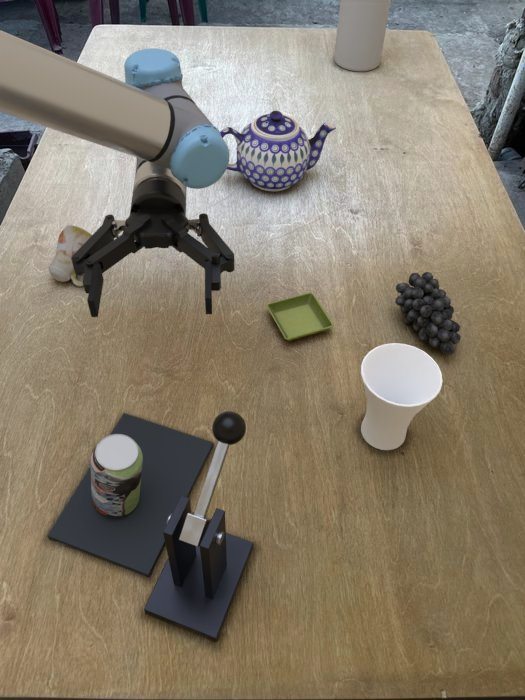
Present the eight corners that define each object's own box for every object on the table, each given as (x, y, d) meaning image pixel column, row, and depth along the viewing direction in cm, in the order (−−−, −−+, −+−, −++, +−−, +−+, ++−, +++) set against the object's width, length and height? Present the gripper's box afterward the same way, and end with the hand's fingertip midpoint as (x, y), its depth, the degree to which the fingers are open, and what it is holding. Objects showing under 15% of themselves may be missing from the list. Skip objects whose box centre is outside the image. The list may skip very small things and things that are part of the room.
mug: (39, 284, 108) (34, 226, 105) (80, 275, 116) (77, 221, 113) (70, 290, 105) (66, 230, 102) (110, 280, 113) (108, 225, 110)
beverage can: (90, 486, 82) (72, 436, 73) (146, 471, 84) (135, 421, 75) (97, 529, 78) (79, 482, 69) (155, 513, 80) (145, 465, 71)
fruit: (476, 323, 92) (432, 256, 102) (424, 344, 93) (384, 276, 102) (476, 354, 99) (435, 289, 108) (427, 374, 100) (390, 307, 109)
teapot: (216, 202, 125) (214, 135, 114) (210, 161, 135) (207, 95, 123) (338, 195, 128) (347, 129, 117) (323, 155, 137) (331, 90, 126)
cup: (421, 409, 93) (444, 350, 83) (417, 470, 86) (441, 414, 76) (352, 396, 94) (365, 336, 84) (342, 454, 88) (355, 396, 77)
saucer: (264, 312, 105) (265, 303, 104) (311, 299, 108) (312, 291, 106) (284, 348, 100) (285, 340, 99) (333, 334, 102) (335, 326, 101)
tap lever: (222, 409, 69) (215, 404, 66) (252, 418, 68) (247, 415, 65) (179, 535, 67) (170, 537, 63) (210, 546, 66) (202, 549, 63)
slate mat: (48, 538, 78) (47, 535, 78) (124, 415, 91) (123, 412, 90) (149, 577, 76) (148, 574, 75) (213, 445, 88) (213, 442, 87)
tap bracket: (187, 523, 80) (179, 459, 68) (253, 547, 78) (256, 486, 66) (145, 613, 73) (127, 559, 61) (216, 642, 71) (212, 592, 59)
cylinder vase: (389, 62, 168) (408, -43, 149) (360, 77, 162) (377, -30, 143) (352, 47, 174) (366, -56, 155) (324, 61, 168) (335, -44, 149)
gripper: (247, 220, 91) (255, 326, 77) (74, 222, 90) (50, 331, 76) (248, 175, 85) (256, 282, 72) (63, 177, 84) (35, 287, 70)
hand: (150, 308), depth 74 cm, fingers open, 13 cm apart
